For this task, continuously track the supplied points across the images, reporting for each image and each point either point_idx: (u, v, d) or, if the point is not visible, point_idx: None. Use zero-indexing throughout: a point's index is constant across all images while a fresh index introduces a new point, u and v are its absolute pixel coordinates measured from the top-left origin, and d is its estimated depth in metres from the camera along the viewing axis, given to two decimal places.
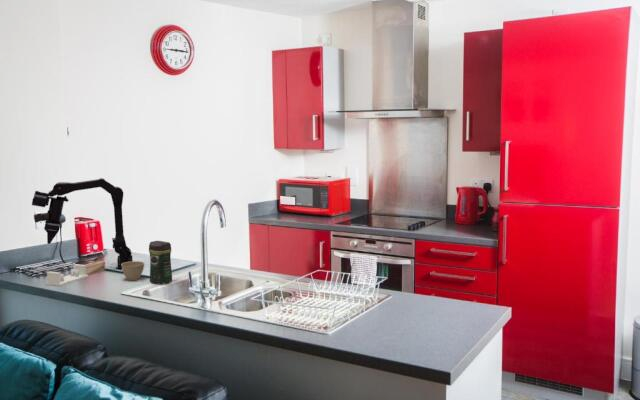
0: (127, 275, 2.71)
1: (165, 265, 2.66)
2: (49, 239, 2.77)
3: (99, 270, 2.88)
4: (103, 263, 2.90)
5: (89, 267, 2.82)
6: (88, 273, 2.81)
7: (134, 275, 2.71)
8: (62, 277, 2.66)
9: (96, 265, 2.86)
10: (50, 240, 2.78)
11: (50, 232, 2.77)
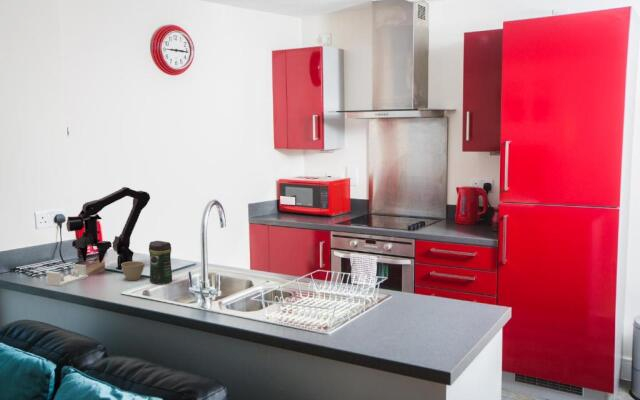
0: (127, 275, 2.71)
1: (165, 265, 2.66)
2: (101, 258, 2.84)
3: (99, 270, 2.88)
4: (103, 263, 2.90)
5: (89, 267, 2.82)
6: (88, 273, 2.81)
7: (134, 275, 2.71)
8: (62, 277, 2.66)
9: (96, 265, 2.86)
10: (102, 258, 2.84)
11: None
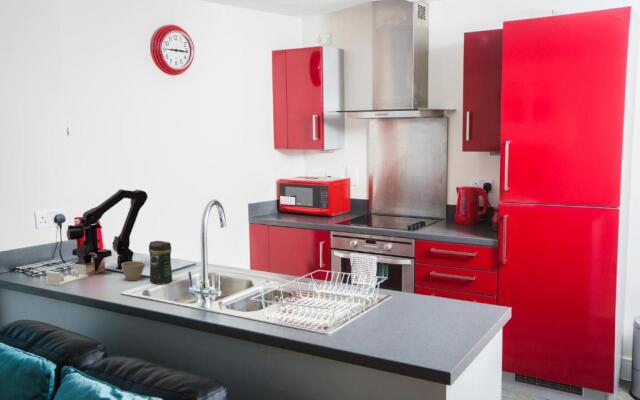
0: (127, 275, 2.71)
1: (165, 265, 2.66)
2: (97, 266, 2.85)
3: (99, 270, 2.88)
4: (103, 263, 2.90)
5: (89, 267, 2.81)
6: (88, 273, 2.81)
7: (134, 275, 2.71)
8: (62, 277, 2.66)
9: None
10: (98, 267, 2.86)
11: None
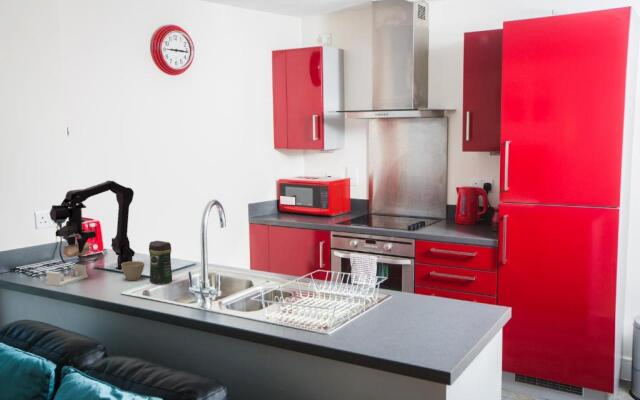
0: (127, 275, 2.71)
1: (165, 265, 2.66)
2: (81, 248, 2.75)
3: (83, 251, 2.78)
4: (88, 244, 2.80)
5: (72, 248, 2.71)
6: (71, 254, 2.71)
7: (134, 275, 2.71)
8: (62, 277, 2.66)
9: None
10: (82, 248, 2.75)
11: (81, 241, 2.74)
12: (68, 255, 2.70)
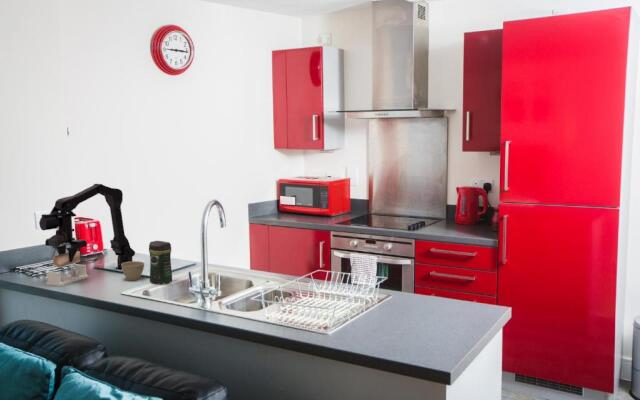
0: (127, 275, 2.71)
1: (165, 265, 2.66)
2: (72, 257, 2.69)
3: (74, 261, 2.72)
4: (78, 253, 2.75)
5: (63, 257, 2.66)
6: (61, 264, 2.65)
7: (134, 275, 2.71)
8: (62, 277, 2.66)
9: None
10: (72, 258, 2.70)
11: (72, 250, 2.69)
12: (58, 265, 2.65)
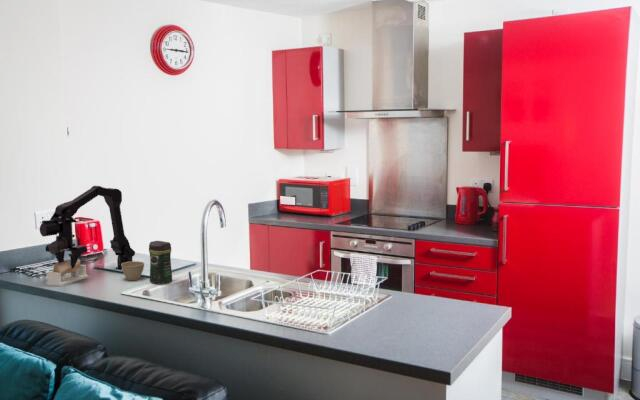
0: (127, 275, 2.71)
1: (165, 265, 2.66)
2: (74, 263, 2.69)
3: (74, 269, 2.73)
4: (78, 261, 2.75)
5: (63, 265, 2.66)
6: (62, 272, 2.66)
7: (134, 275, 2.71)
8: (62, 277, 2.66)
9: None
10: (74, 264, 2.70)
11: (74, 256, 2.69)
12: None
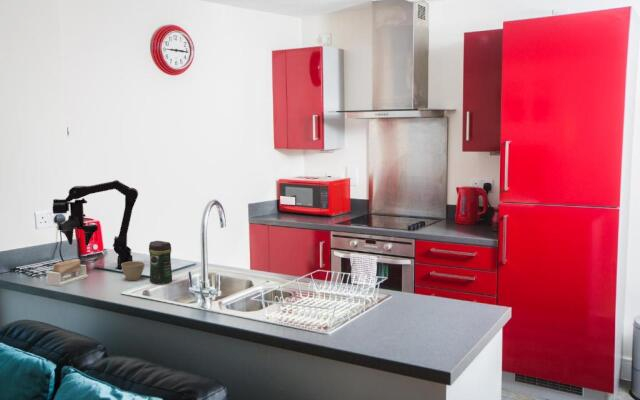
0: (127, 275, 2.71)
1: (165, 265, 2.66)
2: (87, 241, 2.87)
3: (74, 269, 2.73)
4: (78, 261, 2.75)
5: (63, 265, 2.66)
6: (62, 272, 2.66)
7: (134, 275, 2.71)
8: (62, 277, 2.66)
9: (71, 263, 2.71)
10: (88, 242, 2.88)
11: (88, 234, 2.86)
12: None
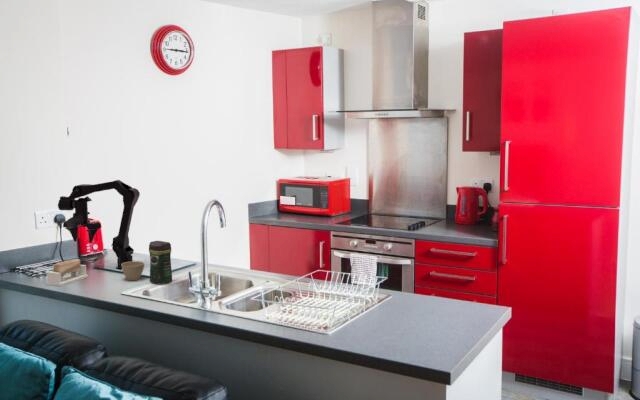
0: (127, 275, 2.71)
1: (165, 265, 2.66)
2: (91, 238, 2.93)
3: (74, 269, 2.73)
4: (78, 261, 2.75)
5: (63, 265, 2.66)
6: (62, 272, 2.66)
7: (134, 275, 2.71)
8: (62, 277, 2.66)
9: (71, 263, 2.71)
10: (92, 239, 2.94)
11: None
12: None
